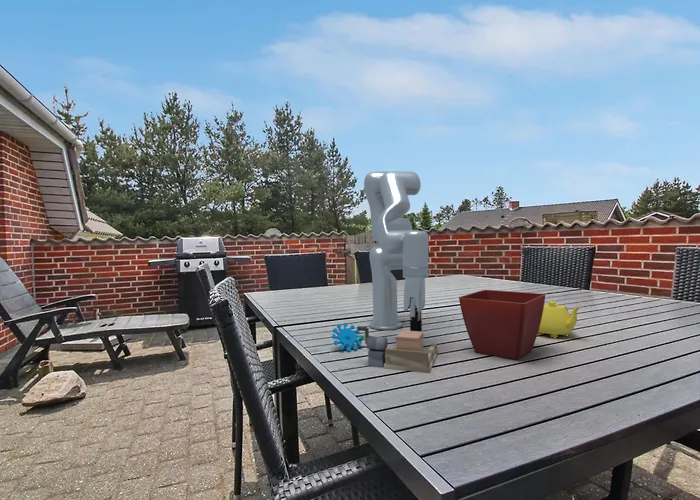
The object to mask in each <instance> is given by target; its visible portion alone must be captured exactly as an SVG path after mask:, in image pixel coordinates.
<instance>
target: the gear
mask: <svg viewBox="0 0 700 500" xmlns="http://www.w3.org/2000/svg"><path fill="white" fill-rule="evenodd" d="M348 325H349V323H347V322H344V323H343V328H342V324H341V323H340V324H339V323H338V324H337V325H336V327H334V328H333V329H332V335H331V339H332V340H333V339H334V341H333V345H334V346H337V345H339V344H340V345H339V350H341V351H343V350H344V348H345V347H346V346H347V347H346V352H349V353H350V352H351V351H352V350H353V351H357V350H358V347H361V345H362V344H363V340H365V333H364V334H360V332H361V331H358V330H357V329H355V327H356V326H355V325H354V324H351V325H350V327H348ZM347 327H348V328H347ZM338 330H339V331H338ZM351 346H353V348H352V347H351Z"/></svg>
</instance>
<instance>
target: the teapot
mask: <svg viewBox="0 0 700 500" xmlns="http://www.w3.org/2000/svg"><path fill="white" fill-rule="evenodd" d="M581 308H582V306H578V307H574V308H573V309H572V310H571V314H570V312H569V309H568V307H567V306H566V305H563V304H562V305H558V304H557V301H547V304H544V309H543V314H542V319H541V323H540V327H539V331H538V334H543V335H544V334H549V335H550V338H551V337H553V338H557V337H558V338H559V335H560V336H562V335H565V336H564V337H568V336H567V335H569V334H570V333H571V332H572V331H573V330H574V329H575V326H576V325H577V323H578V311H579V310H580V309H581ZM553 338H552V339H553Z"/></svg>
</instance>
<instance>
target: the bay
mask: <svg viewBox="0 0 700 500" xmlns="http://www.w3.org/2000/svg"><path fill="white" fill-rule="evenodd" d="M356 330H358V331H360V332H361V331H363V332H364V335H365V338H364V340H365V342H364V344H365V345H366V349H367V350H368V351H367V357H368V358H367V361H368V364H367V365H368V366H369V367H377V368H384V369H389V370H397V371H398V370H399V371H408V372H409V371H410V372H418V373H419V372H420V373H430V372H431V370H432V368H433V366H434V363H435V361H436V359H437V357H438V355H439V349H437V348H438V347H437V344H438V343H437V342H431V345H430V347H429V348H423V351H415V350H403V349H396V344H395V345H394V346H393V347H392V348H389V347H388V342H389V341H388V337H386V336H377V335H376V336H374V335H370V334H369V332H370V331H369V330H370V329H369V327H368V326H365V325H364V326H362V325H359V326H357V328H356Z"/></svg>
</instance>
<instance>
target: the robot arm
mask: <svg viewBox="0 0 700 500" xmlns="http://www.w3.org/2000/svg"><path fill="white" fill-rule="evenodd" d="M421 184H422V183H421V179H420V177H419V175H418V173H416V172H415V171H405V170H403V171H400V170H399V171H398V170H394V171H393V170H392V171H384V170H383V171H378V170H377V171H372V172H369V173H367V174H366V175H365V177H364V181H363V188H364V189H363V190H364V194H365V197H366V200H367V203H368V206H369V210H370V211H369V212H370V227H371V228H370V229H371V234H372V235H371V236H372V238H373V240H374V241H375V242H378V243H379V245H376V246H374V247H372V248H371V249H370V251H369V256H368V257H369V262H370V269H371V277H372V283H371V284H372V285H371V287H372V316H373V317H372V321H370V322H369V323H368V324H369V327H370V328H371V329H375V330H382V331H383V330H385V331H386V330H387V331H388V330H389V331H390V330H397V329H400V328H401V327H402V325H403V324H402V322H401V321H399V319H398V281H397V279H396V277H395V276H394V275H393V273H392V272H391V271H394V270H402V278H404V285H403V286H404V289H403V290H404V291H403V295H404V296H403V311H404V312H408V311H409V320H410V321H409V328H410V329H409V331H420V332H423V327H422V326H423V325H422V324H423V322H422V320H423V319H422V311H423V309H424V307H425V305H426V279H428V278H429V234H428V232H427V231H425V230H417V229H413V226H412V225H413V224H412V223H411V221H410V220H409V219H408V218H405V217H403V216H404V215H406V214H407V213H408V212H409V211H410V208H411V202H410V199H409V196H416V195H418V194H419V193H420V190H421V186H422V185H421Z"/></svg>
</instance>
